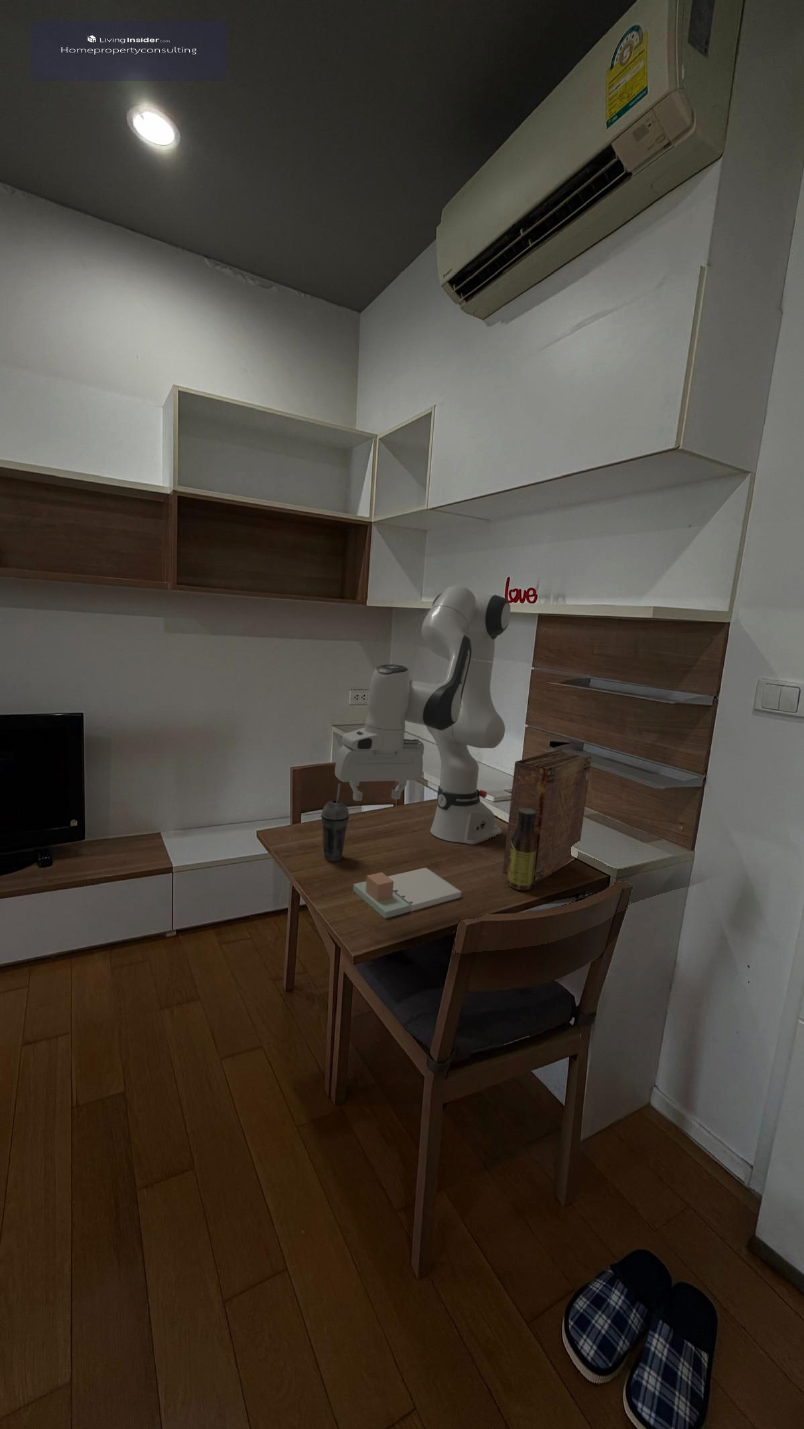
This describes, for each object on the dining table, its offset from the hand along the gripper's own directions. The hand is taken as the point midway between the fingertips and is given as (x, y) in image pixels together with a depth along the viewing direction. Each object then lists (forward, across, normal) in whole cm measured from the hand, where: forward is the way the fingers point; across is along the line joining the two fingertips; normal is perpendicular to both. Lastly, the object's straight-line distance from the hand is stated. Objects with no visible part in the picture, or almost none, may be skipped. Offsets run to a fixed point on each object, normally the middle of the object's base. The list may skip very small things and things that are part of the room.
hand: (376, 799), depth 128 cm
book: (+21, -52, 0) cm, 56 cm away
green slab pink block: (+23, -2, +3) cm, 23 cm away
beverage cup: (+24, 0, -22) cm, 32 cm away
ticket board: (+23, -13, +2) cm, 26 cm away
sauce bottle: (+22, -38, +8) cm, 45 cm away
